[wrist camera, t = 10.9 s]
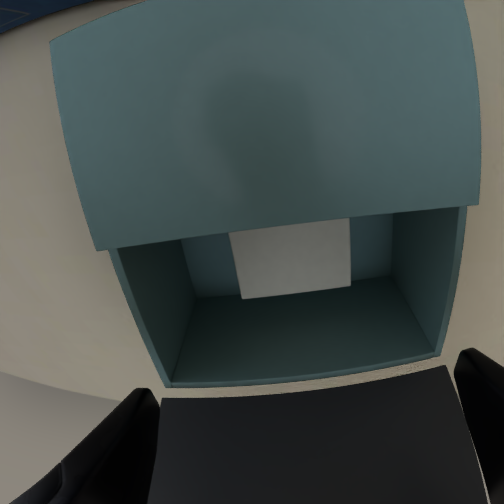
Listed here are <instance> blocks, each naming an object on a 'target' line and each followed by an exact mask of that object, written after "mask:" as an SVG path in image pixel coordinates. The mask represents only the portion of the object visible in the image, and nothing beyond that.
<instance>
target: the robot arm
mask: <svg viewBox="0 0 504 504" xmlns="http://www.w3.org/2000/svg"><path fill="white" fill-rule="evenodd" d="M454 378H455V382H456V385H457V389H458V393H459V396H460V400H461V404H462V408H463V412H464V416H465V420H466V423H467V426H468V429H469V431H470V434H471V437H472V440H473V443H474V446H475V449H476V453H477V456H478V459H479V462H480V465H481V469H482V472H483V476H484V479H485V483H486V487H487V490H488V494H489V499H490V503H491V504H504V367H502V366H501V365H499V364H498V363H496V362H495V361H493V360H492V359H490V358H489V357H487V356H486V355H484V354H483V353H481V352H479V351H478V350H476V349H475V348H468V349H465V350H462V351H461V352H460V354H459V357H458V360H457V363H456V365H455V368H454ZM159 419H160V407H159V404H158V402H157V400H156V399H155V397H154V395H153V393H152V391H151V390H150V389H149V388H136V389H134V390H133V391H132V392H131V393H130V394H129V395H128V396H127V397H126V398H125V399H124V400H123V401H122V402H121V403H120V404H119V405H118V406H117V407H116V408H115V409H114V410H113V411H112V412H111V413H110V414H109V415H108V416H107V417H106V418H105V419H104V420H103V421H102V422H101V423H100V424H99V425H98V426H97V427H96V428H95V429H94V430H92V432H91V433H89V434H88V435H87V437H85V438H84V439H83V440H82V441H81V442H80V443H79V444H78V445H77V446H76V447H75V448H74V449H73V450H72V451H71V452H70V453H69V454H68V455H67V456H66V457H65V458H64V459H63V460H61V463H58V464H57V465H56V466H55V467H54V468H53V469H52V470H51V471H50V472H49V473H48V474H46V475H45V476H44V478H42V479H41V480H40V481H38V482H37V483H36V484H35V485H33V486H32V487H31V488H30V489H28V490H27V491H26V492H24V493H23V494H22V495H20V496H19V497H18V498H16V499H15V500H13V501H12V502H11V503H9V504H147V502H148V497H149V491H150V486H151V481H152V475H153V470H154V465H155V460H156V453H157V442H158V430H159Z"/></svg>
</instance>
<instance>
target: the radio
mask: <svg viewBox="0 0 504 504" xmlns="http://www.w3.org/2000/svg"><path fill="white" fill-rule="evenodd" d="M90 1H94V0H0V33H2V32H4V31H7V30H9V29H11V28H13V27H16V26H18V25H21V24H23V23H26V22H28V21H31V20H33V19H36V18H39V17H42V16H44V15H47V14H50V13H53V12H56V11H59V10H62V9H66V8H69V7H72V6H76V5H79V4H83V3H86V2H90Z"/></svg>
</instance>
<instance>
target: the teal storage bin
mask: <svg viewBox="0 0 504 504" xmlns="http://www.w3.org/2000/svg"><path fill="white" fill-rule="evenodd" d="M49 43H50V53H51V61H52V69H53V77H54V84H55V90H56V96H57V102H58V108H59V113H60V119H61V124H62V129H63V133H64V138H65V143H66V147H67V151H68V156H69V160H70V164H71V168H72V172H73V176H74V179H75V183H76V187H77V190H78V194H79V197H80V201H81V204H82V208H83V211H84V214H85V218H86V221H87V224H88V227H89V230H90V233H91V236H92V239H93V242H94V245H95V248H96V251H103V250H108V251H109V254H110V257H111V260H112V263H113V266H114V268H115V271H116V274H117V277H118V279H119V282H120V285H121V287H122V290H123V293H124V295H125V298H126V300H127V303H128V305H129V308H130V310H131V313H132V315H133V318H134V320H135V322H136V325H137V327H138V329H139V332H140V334H141V336H142V339H143V341H144V343H145V345H146V348H147V350H148V352H149V354H150V356H151V359H152V361H153V363H154V365H155V367H156V369H157V371H158V373H159V376H160V378H161V380H162V382H163V384H164V386H165V388H212V387H236V386H252V385H266V384H277V383H288V382H297V381H306V380H314V379H322V378H330V377H337V376H343V375H350V374H356V373H362V372H368V371H373V370H379V369H384V368H389V367H394V366H399V365H404V364H408V363H413V362H417V361H422V360H426V359H430V358H434V357H438V356H440V355H441V351H442V348H443V344H444V340H445V336H446V332H447V328H448V324H449V320H450V316H451V311H452V307H453V302H454V297H455V292H456V287H457V282H458V276H459V270H460V264H461V257H462V250H463V242H464V234H465V225H466V214H467V206H471V205H478V204H479V194H480V175H481V121H480V103H479V90H478V80H477V71H476V63H475V56H474V50H473V44H472V38H471V33H470V27H469V23H468V18H467V13H466V9H465V5H464V1H463V0H147V1H144V2H141V3H138V4H135V5H132V6H129V7H126V8H124V9H121V10H118V11H116V12H113V13H110V14H108V15H105V16H103V17H100V18H98V19H96V20H93V21H91V22H89V23H86V24H84V25H82V26H80V27H78V28H75V29H73V30H71V31H69V32H67V33H65V34H63V35H61V36H59V37H57V38H55V39H53V40H51V41H50V42H49ZM344 218H349V220H350V248H351V286H347V287H340V288H332V289H325V290H317V291H309V292H301V293H293V294H285V295H276V296H268V297H259V298H249V299H242V297H241V293H240V288H239V283H238V278H237V273H236V268H235V263H234V259H233V254H232V249H231V244H230V239H229V234H228V233H229V232H237V231H245V230H253V229H260V228H268V227H276V226H284V225H293V224H301V223H309V222H318V221H326V220H335V219H344Z"/></svg>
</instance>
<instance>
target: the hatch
mask: <svg viewBox="0 0 504 504" xmlns="http://www.w3.org/2000/svg"><path fill="white" fill-rule="evenodd" d="M147 504H488V502H487V497H486V493H485V488H484V484H483V480H482V475H481V472H480V468H479V464H478V460H477V456H476V453H475V449H474V446H473V442H472V439H471V436H470V432H469V429H468V426H467V423H466V420H465V417H464V414H463V411H462V408H461V405H460V402H459V399H458V396H457V393H456V391H455V388H454V385H453V383H452V380H451V377H450V375H449V372H448V369H447V367H446V365H443V366H439V367H435V368H431V369H427V370H423V371H419V372H414V373H410V374H406V375H401V376H396V377H391V378H386V379H381V380H376V381H371V382H365V383H359V384H353V385H347V386H341V387H334V388H327V389H319V390H311V391H303V392H293V393H283V394H272V395H259V396H243V397H219V398H162V400H161V406H160V419H159V430H158V442H157V453H156V460H155V465H154V470H153V475H152V481H151V486H150V491H149V497H148V502H147Z"/></svg>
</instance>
